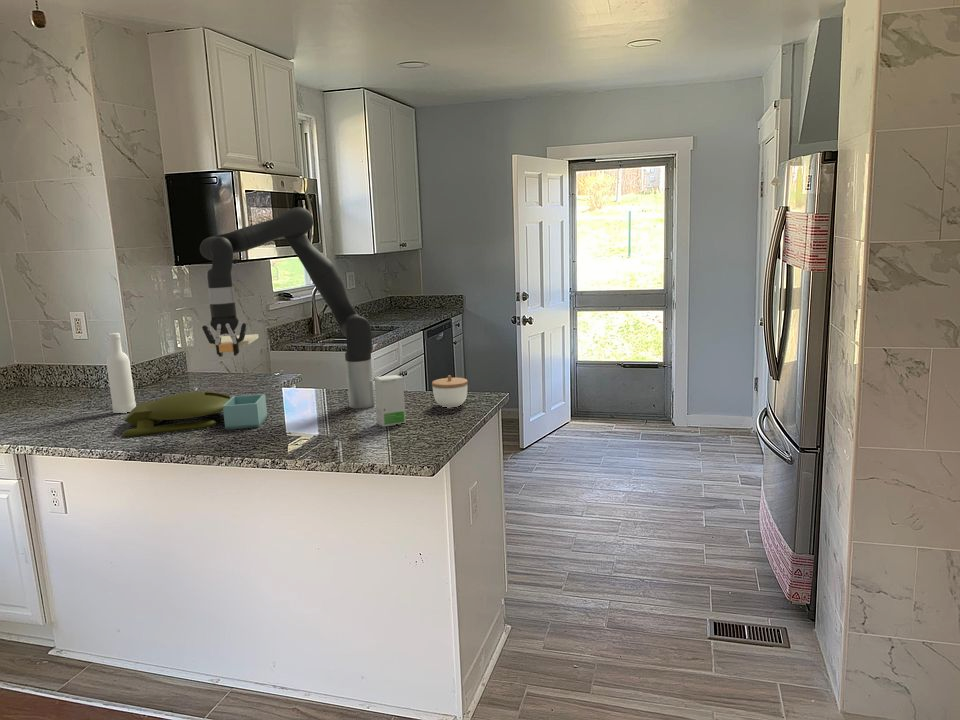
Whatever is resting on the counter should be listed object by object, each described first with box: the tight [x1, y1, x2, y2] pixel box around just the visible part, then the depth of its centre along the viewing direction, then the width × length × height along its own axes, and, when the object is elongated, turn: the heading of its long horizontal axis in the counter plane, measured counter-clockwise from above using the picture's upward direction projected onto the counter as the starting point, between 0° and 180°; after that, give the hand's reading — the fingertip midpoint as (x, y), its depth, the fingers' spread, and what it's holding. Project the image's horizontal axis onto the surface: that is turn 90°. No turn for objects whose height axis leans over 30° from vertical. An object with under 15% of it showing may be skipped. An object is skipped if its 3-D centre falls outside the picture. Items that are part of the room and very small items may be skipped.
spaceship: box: [122, 390, 232, 438], centre depth 252 cm, size 35×31×10 cm
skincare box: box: [373, 374, 407, 427], centre depth 234 cm, size 8×7×16 cm
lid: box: [209, 333, 260, 353], centre depth 234 cm, size 12×22×2 cm, turn 6°
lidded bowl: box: [431, 374, 469, 409], centre depth 254 cm, size 13×13×11 cm
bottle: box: [106, 332, 137, 414], centre depth 269 cm, size 8×8×30 cm
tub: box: [222, 393, 268, 430], centre depth 245 cm, size 11×15×8 cm
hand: (228, 355), depth 226 cm, fingers closed on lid, 4 cm apart
